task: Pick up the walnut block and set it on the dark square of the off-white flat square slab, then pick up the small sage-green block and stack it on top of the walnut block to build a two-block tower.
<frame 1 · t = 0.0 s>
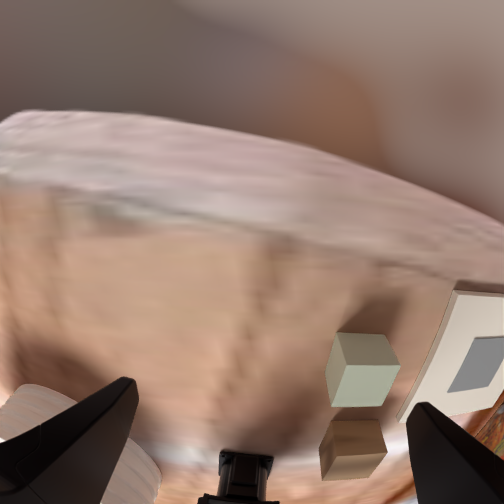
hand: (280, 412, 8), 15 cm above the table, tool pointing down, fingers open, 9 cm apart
off-white flat square slab: (478, 359, 24), on the table
sage block: (354, 353, 24), on the table
walnut block: (347, 434, 28), on the table
tin: (488, 424, 28), on the table
plate stack: (82, 446, 35), on the table
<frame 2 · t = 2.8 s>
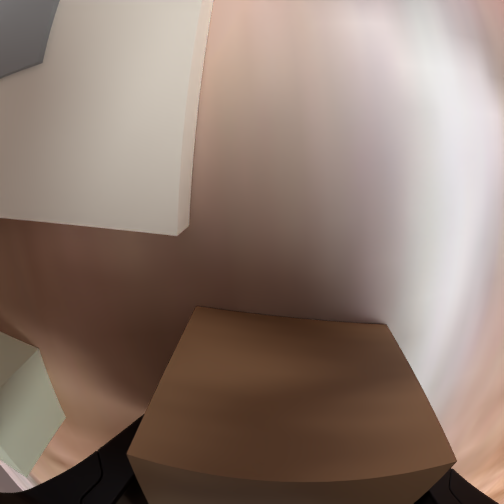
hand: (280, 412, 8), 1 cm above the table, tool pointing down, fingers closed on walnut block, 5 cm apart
off-white flat square slab: (19, 9, 5), on the table
sage block: (21, 371, 10), on the table
walnut block: (280, 389, 9), on the table, touching gripper
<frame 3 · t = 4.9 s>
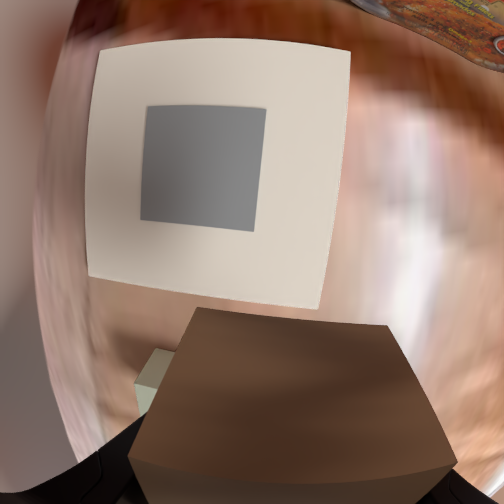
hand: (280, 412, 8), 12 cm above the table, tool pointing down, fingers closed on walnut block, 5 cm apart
off-white flat square slab: (203, 165, 17), on the table
sage block: (183, 374, 22), on the table
walnut block: (281, 389, 9), point 11 cm above the table, touching gripper
tin: (426, 23, 13), on the table
when the fingers open (3 cm above the table, at t = 7.3 s): walnut block drops 1 cm, resting on off-white flat square slab.
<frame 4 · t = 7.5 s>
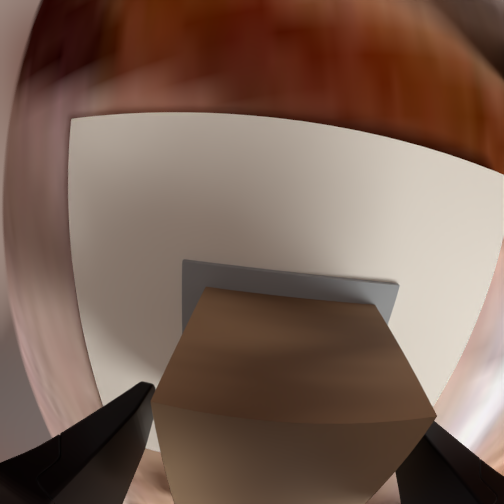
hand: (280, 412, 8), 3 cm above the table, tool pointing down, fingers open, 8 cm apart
off-white flat square slab: (279, 345, 11), on the table
walnut block: (280, 365, 10), point 1 cm above the table, touching off-white flat square slab
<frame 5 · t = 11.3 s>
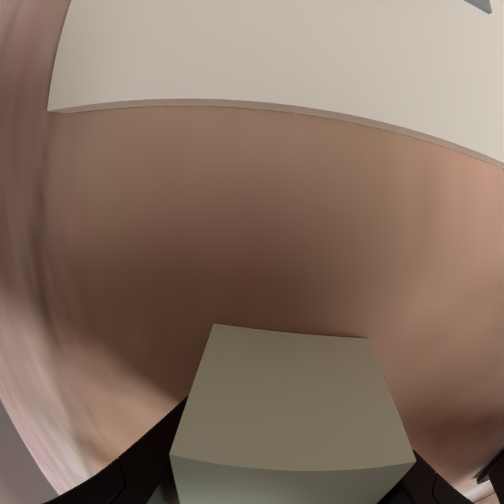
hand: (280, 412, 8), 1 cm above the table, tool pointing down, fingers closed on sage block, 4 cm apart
sage block: (280, 388, 9), on the table, touching gripper
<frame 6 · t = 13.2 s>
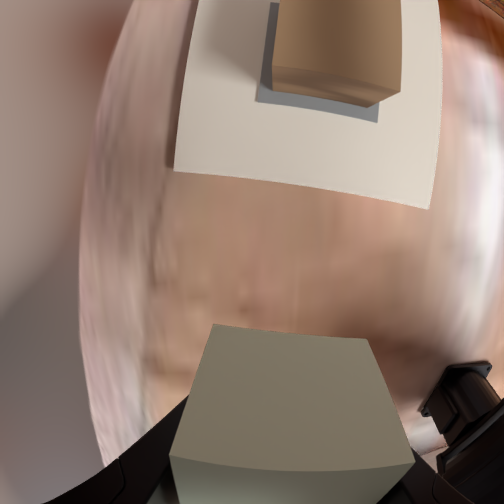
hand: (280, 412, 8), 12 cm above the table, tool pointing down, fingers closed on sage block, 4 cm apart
off-white flat square slab: (321, 62, 15), on the table
sage block: (280, 389, 9), point 11 cm above the table, touching gripper
walnut block: (325, 56, 14), point 1 cm above the table, touching off-white flat square slab
when the fingers open (8 cm above the table, at t = 15.1 s): sage block drops 1 cm, resting on walnut block.
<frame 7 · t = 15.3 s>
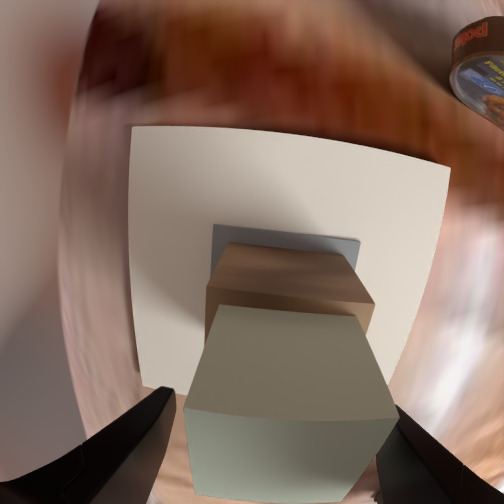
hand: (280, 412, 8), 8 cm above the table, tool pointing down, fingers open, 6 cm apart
off-white flat square slab: (278, 290, 16), on the table
sage block: (280, 365, 10), point 6 cm above the table, touching walnut block
walnut block: (279, 301, 15), point 1 cm above the table, touching off-white flat square slab, sage block
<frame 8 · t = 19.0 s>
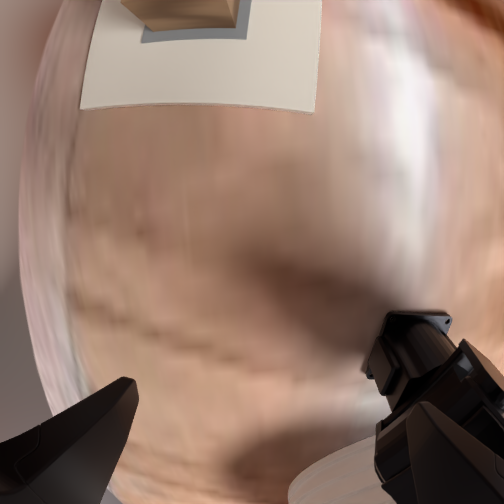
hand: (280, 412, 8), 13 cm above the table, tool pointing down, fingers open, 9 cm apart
off-white flat square slab: (202, 4, 15), on the table
plate stack: (385, 477, 29), on the table
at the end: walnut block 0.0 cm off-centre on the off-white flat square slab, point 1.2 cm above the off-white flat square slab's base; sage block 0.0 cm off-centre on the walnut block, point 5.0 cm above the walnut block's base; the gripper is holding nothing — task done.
